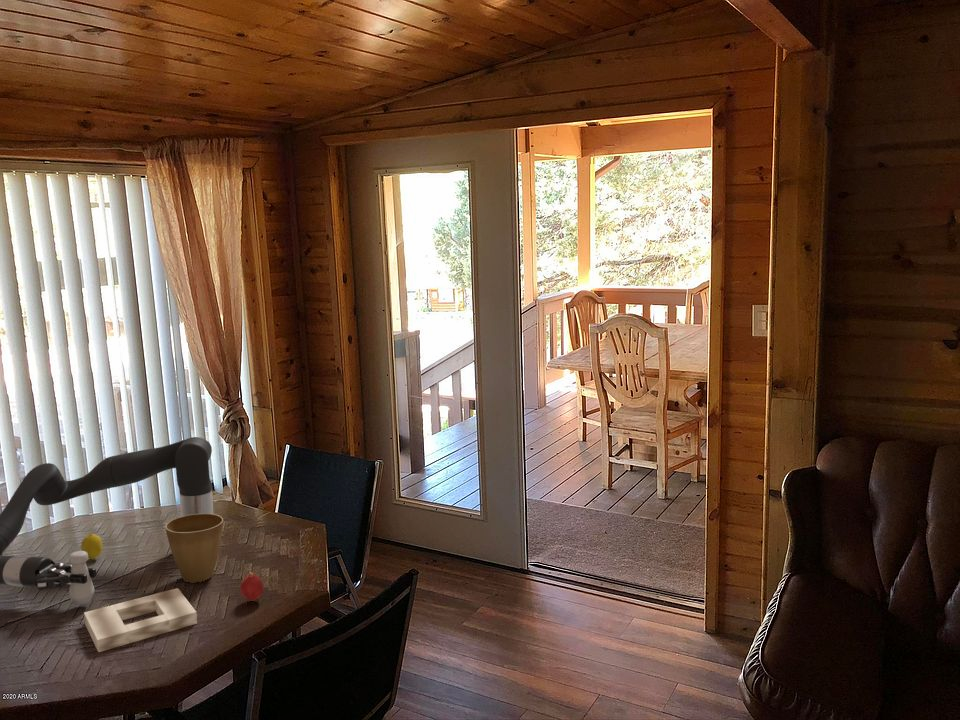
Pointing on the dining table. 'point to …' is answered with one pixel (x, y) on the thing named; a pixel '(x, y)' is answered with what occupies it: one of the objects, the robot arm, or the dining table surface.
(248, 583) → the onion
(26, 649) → the dining table surface
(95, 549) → the lemon
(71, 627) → the dining table surface
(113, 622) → the hole board
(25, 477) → the robot arm
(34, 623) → the dining table surface
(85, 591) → the salt shaker
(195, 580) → the plant pot
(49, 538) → the dining table surface
